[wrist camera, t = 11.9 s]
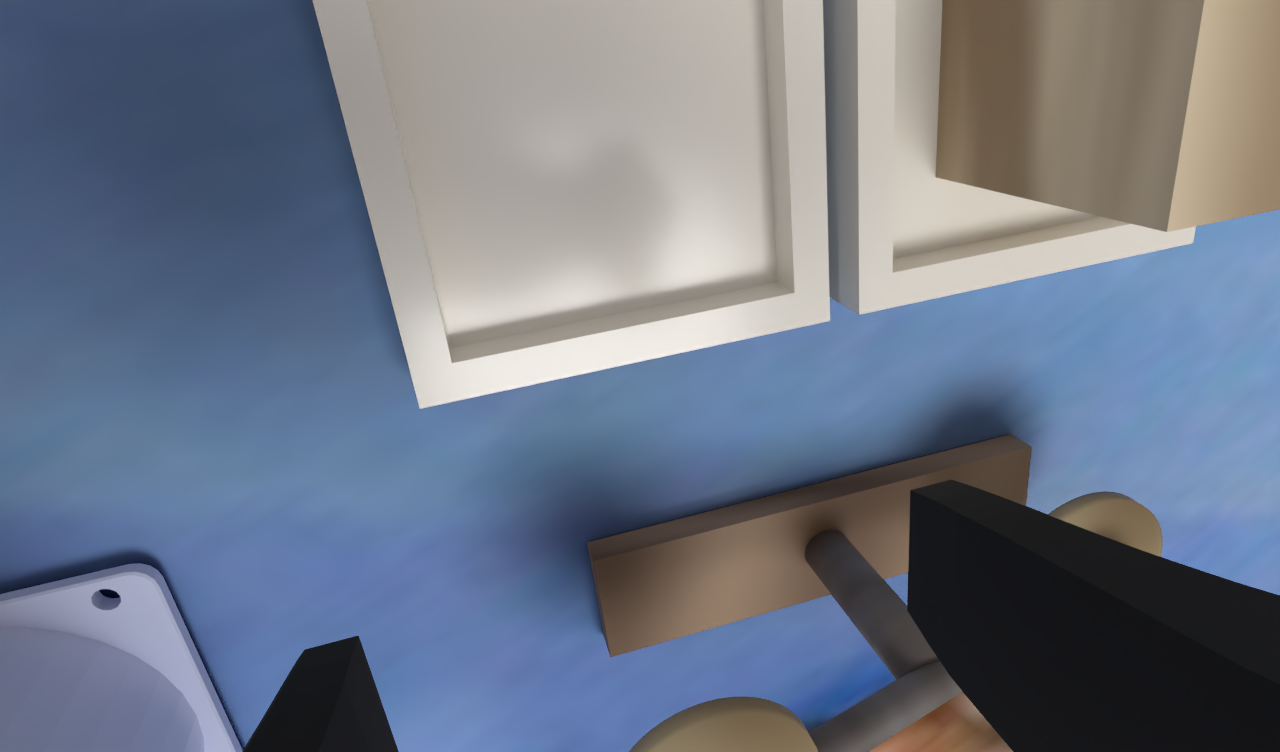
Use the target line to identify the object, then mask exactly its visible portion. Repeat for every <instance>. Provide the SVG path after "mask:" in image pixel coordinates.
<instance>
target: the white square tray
mask: <svg viewBox="0 0 1280 752" xmlns="http://www.w3.org/2000/svg"><path fill="white" fill-rule="evenodd" d="M313 4H314V8H315V12H316V15H317V19H318V23H319V27H320V31H321V34H322V38H323V42H324V46H325V50H326V53H327V57H328V61H329V65H330V69H331V72H332V76H333V80H334V84H335V88H336V92H337V95H338V99H339V103H340V107H341V111H342V114H343V118H344V122H345V126H346V130H347V133H348V137H349V141H350V145H351V149H352V152H353V156H354V160H355V164H356V168H357V171H358V175H359V179H360V183H361V187H362V190H363V194H364V198H365V202H366V206H367V209H368V213H369V217H370V221H371V225H372V228H373V232H374V236H375V240H376V244H377V248H378V251H379V255H380V259H381V263H382V267H383V270H384V274H385V278H386V282H387V286H388V289H389V293H390V297H391V301H392V305H393V308H394V312H395V316H396V320H397V324H398V327H399V331H400V335H401V339H402V343H403V346H404V350H405V354H406V358H407V362H408V365H409V369H410V373H411V377H412V381H413V384H414V388H415V392H416V396H417V400H418V404H419V407H420V409H421V408H426V407H431V406H435V405H440V404H445V403H449V402H454V401H459V400H463V399H468V398H473V397H477V396H482V395H487V394H491V393H496V392H501V391H505V390H510V389H515V388H519V387H524V386H529V385H533V384H538V383H543V382H547V381H552V380H557V379H561V378H566V377H571V376H575V375H580V374H585V373H589V372H594V371H599V370H603V369H608V368H613V367H617V366H622V365H627V364H631V363H636V362H641V361H645V360H650V359H655V358H659V357H664V356H669V355H673V354H678V353H683V352H687V351H692V350H697V349H701V348H706V347H711V346H715V345H720V344H725V343H729V342H734V341H739V340H743V339H748V338H753V337H757V336H762V335H767V334H771V333H776V332H781V331H785V330H790V329H795V328H799V327H804V326H809V325H813V324H818V323H823V322H827V321H830V297H829V252H828V207H827V162H826V117H825V72H824V27H823V0H313Z"/></svg>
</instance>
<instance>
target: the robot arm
mask: <svg viewBox="0 0 1280 752" xmlns="http://www.w3.org/2000/svg"><path fill="white" fill-rule="evenodd" d="M101 589H110V590H113V591H116V592H117V593H118V594H119V595H120V597H119V598H108V597H105V596H103V595H102V594H101V593H100V592H99V590H101ZM907 611H908V612H909V614H910V616H911V617H912V619H913V620H914V622H915V624H916V625H917V627H918V628H919V630H920V631H921V633H922V635H923V636H924V638H925V639H926V641H927V643H928V644H929V646H930V647H931V649H932V650H933V652H934V653H935V655H936V656H937V658H938V659H939V661H940V662H941V663H942V665H943V666H944V668H945V669H946V671H947V672H948V674H949V675H950V677H951V678H952V679H953V680H954V681H955V683H956V684H957V685H958V686H959V688H960V689H961V690H962V691H963V692H964V694H965V695H966V696H967V697H968V698H969V700H970V701H971V702H972V703H973V704H974V706H975V707H976V708H977V709H978V710H979V711H980V713H981V714H982V715H983V716H984V717H985V719H986V720H987V721H988V722H989V723H990V725H991V726H992V727H993V728H994V729H995V730H996V732H997V733H998V734H999V735H1000V736H1001V737H1002V739H1003V740H1004V741H1005V742H1006V743H1007V744H1008V746H1009V747H1010V748H1011V749H1012V750H1013V751H1014V752H1280V595H1276V594H1273V593H1269V592H1266V591H1263V590H1259V589H1256V588H1253V587H1249V586H1246V585H1243V584H1240V583H1237V582H1233V581H1230V580H1227V579H1224V578H1221V577H1218V576H1215V575H1212V574H1209V573H1206V572H1203V571H1200V570H1197V569H1194V568H1191V567H1188V566H1185V565H1182V564H1179V563H1176V562H1173V561H1170V560H1168V559H1165V558H1162V557H1159V556H1156V555H1154V554H1151V553H1148V552H1145V551H1142V550H1140V549H1137V548H1134V547H1131V546H1129V545H1126V544H1123V543H1121V542H1118V541H1115V540H1113V539H1110V538H1107V537H1105V536H1102V535H1099V534H1097V533H1094V532H1091V531H1089V530H1086V529H1084V528H1081V527H1078V526H1076V525H1073V524H1071V523H1068V522H1065V521H1063V520H1060V519H1058V518H1055V517H1052V516H1050V515H1047V514H1045V513H1042V512H1040V511H1037V510H1034V509H1032V508H1029V507H1027V506H1024V505H1022V504H1019V503H1016V502H1014V501H1011V500H1009V499H1006V498H1003V497H1001V496H998V495H995V494H993V493H990V492H987V491H984V490H982V489H979V488H976V487H973V486H970V485H967V484H964V483H961V482H957V481H954V480H947V481H943V482H939V483H936V484H932V485H928V486H924V487H921V488H917V489H913V490H910V525H909V565H908V606H907ZM0 752H398V749H397V746H396V743H395V740H394V737H393V735H392V732H391V729H390V726H389V723H388V720H387V717H386V714H385V711H384V708H383V706H382V703H381V700H380V697H379V694H378V691H377V688H376V685H375V682H374V679H373V676H372V674H371V671H370V668H369V665H368V662H367V659H366V656H365V653H364V650H363V647H362V645H361V642H360V639H359V636H355V637H351V638H348V639H344V640H340V641H336V642H332V643H329V644H325V645H321V646H317V647H313V648H310V649H306V650H304V651H303V653H302V654H301V656H300V657H299V658H298V660H297V661H296V663H295V665H294V666H293V668H292V670H291V671H290V673H289V675H288V676H287V678H286V680H285V681H284V683H283V685H282V686H281V688H280V690H279V692H278V693H277V695H276V697H275V698H274V700H273V702H272V703H271V705H270V707H269V708H268V710H267V712H266V713H265V715H264V717H263V718H262V720H261V722H260V723H259V725H258V727H257V728H256V730H255V732H254V733H253V735H252V737H251V738H250V740H249V742H248V743H247V745H246V747H245V748H244V750H242V748H241V746H240V744H239V741H238V739H237V737H236V735H235V733H234V731H233V728H232V726H231V724H230V722H229V720H228V717H227V715H226V713H225V711H224V709H223V707H222V704H221V702H220V700H219V698H218V696H217V693H216V691H215V689H214V687H213V685H212V682H211V680H210V678H209V676H208V674H207V672H206V669H205V667H204V665H203V663H202V661H201V658H200V656H199V654H198V652H197V650H196V648H195V645H194V643H193V641H192V639H191V637H190V634H189V632H188V630H187V628H186V626H185V623H184V621H183V619H182V617H181V615H180V613H179V610H178V608H177V606H176V604H175V602H174V599H173V597H172V595H171V593H170V591H169V589H168V586H167V584H166V582H165V580H164V578H163V576H162V575H161V574H160V572H159V571H158V570H157V569H155V568H153V567H152V566H150V565H145V564H141V563H135V564H127V565H122V566H118V567H114V568H110V569H105V570H101V571H97V572H93V573H88V574H84V575H80V576H76V577H71V578H67V579H63V580H59V581H54V582H50V583H46V584H42V585H37V586H33V587H29V588H24V589H20V590H16V591H12V592H7V593H3V594H0Z"/></svg>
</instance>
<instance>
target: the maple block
mask: <svg viewBox="0 0 1280 752" xmlns="http://www.w3.org/2000/svg"><path fill="white" fill-rule="evenodd" d="M936 178H941V179H945V180H949V181H953V182H957V183H962V184H966V185H970V186H974V187H979V188H983V189H987V190H991V191H995V192H1000V193H1004V194H1008V195H1012V196H1016V197H1021V198H1025V199H1029V200H1033V201H1037V202H1042V203H1046V204H1050V205H1054V206H1059V207H1063V208H1067V209H1071V210H1075V211H1080V212H1084V213H1088V214H1092V215H1096V216H1101V217H1105V218H1109V219H1113V220H1118V221H1122V222H1126V223H1130V224H1134V225H1139V226H1143V227H1147V228H1151V229H1155V230H1160V231H1164V232H1170V231H1175V230H1180V229H1185V228H1190V227H1195V226H1200V225H1205V224H1210V223H1215V222H1220V221H1224V220H1229V219H1234V218H1239V217H1244V216H1249V215H1254V214H1259V213H1264V212H1269V211H1274V210H1279V209H1280V0H942V26H941V52H940V77H939V103H938V129H937V155H936Z"/></svg>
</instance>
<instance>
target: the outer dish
mask: <svg viewBox="0 0 1280 752" xmlns="http://www.w3.org/2000/svg"><path fill="white" fill-rule="evenodd" d="M941 26H942V0H823V27H824V72H825V117H826V162H827V207H828V252H829V297H830V298H832V299H834V300H835V301H837V302H839V303H841V304H842V305H844V306H846V307H847V308H849V309H851V310H852V311H854V312H856V313H857V314H859V315H860V314H865V313H869V312H874V311H879V310H883V309H888V308H892V307H897V306H902V305H906V304H911V303H916V302H920V301H925V300H930V299H934V298H939V297H944V296H948V295H953V294H958V293H962V292H967V291H972V290H976V289H981V288H986V287H990V286H995V285H1000V284H1004V283H1009V282H1014V281H1018V280H1023V279H1028V278H1032V277H1037V276H1042V275H1046V274H1051V273H1056V272H1060V271H1065V270H1070V269H1074V268H1079V267H1084V266H1088V265H1093V264H1098V263H1102V262H1107V261H1112V260H1116V259H1121V258H1126V257H1130V256H1135V255H1140V254H1144V253H1149V252H1154V251H1158V250H1163V249H1168V248H1172V247H1177V246H1182V245H1186V244H1191V243H1193V240H1194V234H1195V228H1196V226H1195V227H1190V228H1185V229H1180V230H1175V231H1170V232H1164V231H1160V230H1155V229H1151V228H1147V227H1143V226H1139V225H1134V224H1130V223H1126V222H1122V221H1118V220H1113V219H1109V218H1105V217H1101V216H1096V215H1092V214H1088V213H1084V212H1080V211H1075V210H1071V209H1067V208H1063V207H1059V206H1054V205H1050V204H1046V203H1042V202H1037V201H1033V200H1029V199H1025V198H1021V197H1016V196H1012V195H1008V194H1004V193H1000V192H995V191H991V190H987V189H983V188H979V187H974V186H970V185H966V184H962V183H957V182H953V181H949V180H945V179H941V178H936V155H937V129H938V103H939V77H940V52H941Z"/></svg>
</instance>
